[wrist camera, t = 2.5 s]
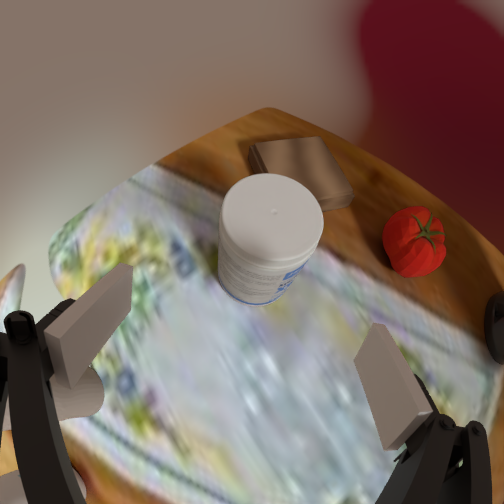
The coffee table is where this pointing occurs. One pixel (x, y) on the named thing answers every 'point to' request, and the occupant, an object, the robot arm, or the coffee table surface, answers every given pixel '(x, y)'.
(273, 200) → the supplement tub
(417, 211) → the tomato
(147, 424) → the coffee table surface
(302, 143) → the plinth
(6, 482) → the milk bottle
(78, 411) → the beige bookend
